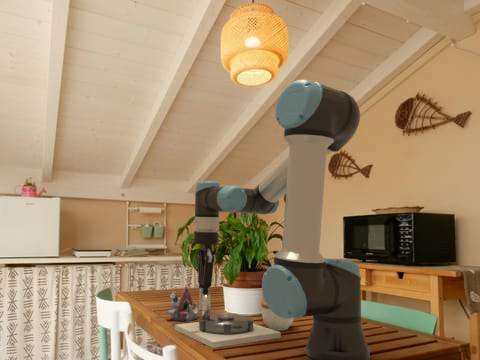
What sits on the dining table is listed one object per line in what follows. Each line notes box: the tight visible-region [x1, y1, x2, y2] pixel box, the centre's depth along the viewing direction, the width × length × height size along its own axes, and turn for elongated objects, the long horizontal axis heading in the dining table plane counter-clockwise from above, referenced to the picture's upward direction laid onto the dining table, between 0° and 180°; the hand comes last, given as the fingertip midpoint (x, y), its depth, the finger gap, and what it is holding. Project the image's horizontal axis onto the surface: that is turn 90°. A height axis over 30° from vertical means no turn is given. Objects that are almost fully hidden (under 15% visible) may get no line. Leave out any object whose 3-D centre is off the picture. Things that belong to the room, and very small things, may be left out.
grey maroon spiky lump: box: [166, 286, 200, 322], centre depth 143 cm, size 11×11×12 cm
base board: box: [174, 321, 282, 349], centre depth 122 cm, size 24×22×2 cm
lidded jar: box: [260, 300, 294, 332], centre depth 130 cm, size 11×11×9 cm
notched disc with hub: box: [198, 293, 254, 334], centre depth 123 cm, size 16×17×9 cm
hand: (203, 309), depth 126 cm, fingers closed
